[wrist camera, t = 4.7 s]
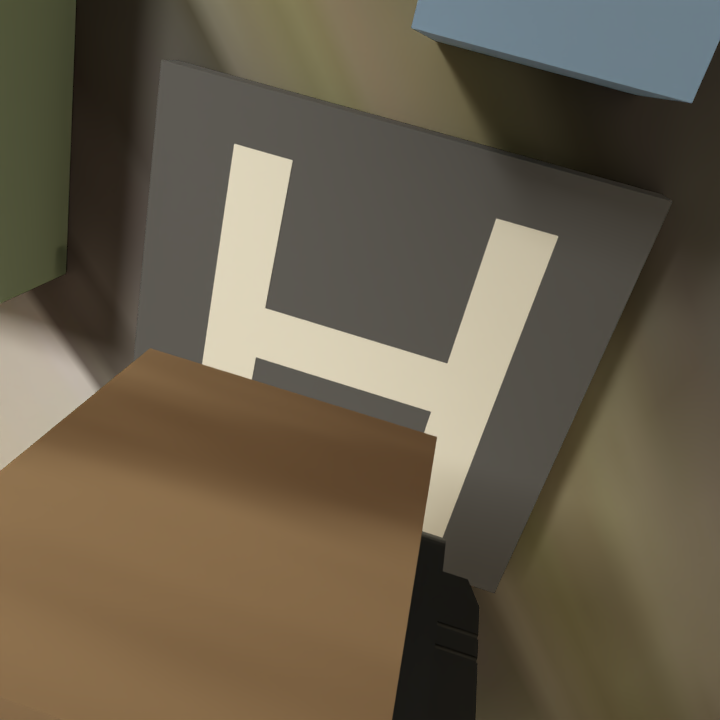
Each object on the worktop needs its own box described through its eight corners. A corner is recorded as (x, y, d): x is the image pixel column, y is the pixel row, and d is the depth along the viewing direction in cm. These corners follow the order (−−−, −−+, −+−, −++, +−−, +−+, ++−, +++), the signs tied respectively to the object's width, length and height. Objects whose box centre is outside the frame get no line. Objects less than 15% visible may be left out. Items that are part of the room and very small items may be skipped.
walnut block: (150, 348, 11) (-193, 628, 5) (437, 437, 10) (373, 831, 5) (129, 563, 13) (-127, 912, 8) (365, 642, 13) (269, 1065, 7)
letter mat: (179, 60, 17) (160, 59, 16) (663, 194, 16) (672, 202, 15) (138, 455, 23) (122, 470, 22) (494, 571, 22) (494, 593, 21)
